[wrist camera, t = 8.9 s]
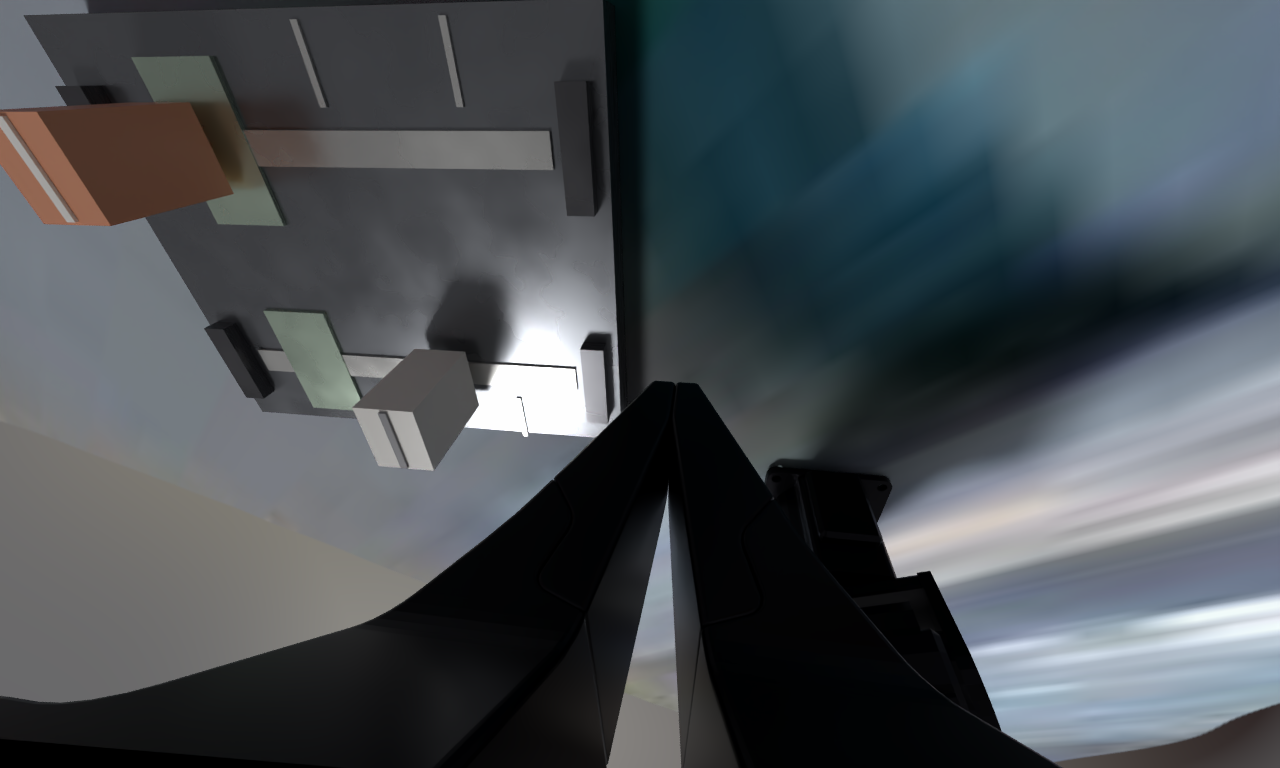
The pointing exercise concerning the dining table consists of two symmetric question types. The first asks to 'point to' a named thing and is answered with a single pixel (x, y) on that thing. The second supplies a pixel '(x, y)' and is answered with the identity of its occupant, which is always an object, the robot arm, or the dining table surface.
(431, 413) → the fader
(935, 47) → the dining table surface
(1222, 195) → the dining table surface
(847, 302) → the dining table surface
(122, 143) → the block
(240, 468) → the dining table surface
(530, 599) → the robot arm
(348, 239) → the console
